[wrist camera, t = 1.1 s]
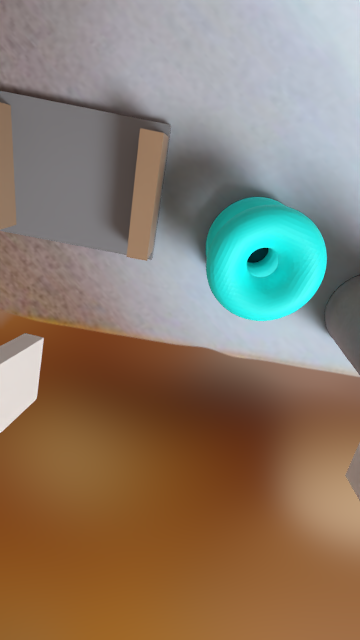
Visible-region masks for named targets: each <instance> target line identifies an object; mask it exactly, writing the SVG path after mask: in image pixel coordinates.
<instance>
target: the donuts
mask: <svg viewBox="0 0 360 640" xmlns="http://www.w3.org/2000/svg"><path fill="white" fill-rule="evenodd" d="M260 248H269V250H268V253H267V255H266V257H265V258H264V259H262V260H261V261H259V262H255V263H250V262H247V260H248V258H249V256H250V255H251V254H252V253H253V252H254V251H256V250H258V249H260ZM206 257H207V262H206V272H207V279H208V283H209V286H210V288H211V291H212V293H213V294H214V296H215V298H216V299H217V300H218V301H219V303H220V304H221V305H222V306H223V307H225V308H226V309H227V310H228V311H230V312H231V313H233V314H235V315H237V316H239V317H242V318H245V319H249V320H256V321H267V320H274V319H278V318H282V317H284V316H287V315H289V314H291V313H293V312H295V311H297V310H298V309H300V308H301V307H302V306H303V305H305V304H306V303H307V302H308V301H309V300H310V299H311V298H312V297H313V295H314V294H315V293H316V291H317V290H318V288H319V286H320V284H321V282H322V280H323V277H324V274H325V270H326V265H327V252H326V246H325V242H324V239H323V237H322V235H321V233H320V231H319V229H318V228H317V226H316V225H315V224H314V223H313V222H312V221H311V220H310V219H309V218H308V217H307V216H305V215H304V214H303V213H301V212H299V211H297V210H295V209H293V208H290V207H287V206H285V205H284V204H282V203H280V202H278V201H276V200H273V199H270V198H265V197H250V198H245V199H242V200H239V201H237V202H235V203H233V204H231V205H230V206H228V207H227V208H225V209H224V210H223V211H222V212H221V213H220V214H219V215H218V216H217V218H216V219H215V220H214V222H213V224H212V225H211V227H210V230H209V232H208V236H207V240H206Z"/></svg>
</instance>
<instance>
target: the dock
mask: <svg viewBox="0 0 360 640" xmlns="http://www.w3.org/2000/svg"><path fill="white" fill-rule="evenodd" d="M170 131H171V125H169V124H164V123H159V122H154V121H149V120H144V119H139V118H134V117H129V116H124V115H119V114H114V113H109V112H104V111H99V110H94V109H89V108H84V107H79V106H74V105H69V104H64V103H59V102H54V101H49V100H44V99H39V98H34V97H29V96H24V95H19V94H14V93H9V92H4V91H0V231H5V232H10V233H15V234H20V235H25V236H31V237H36V238H41V239H46V240H51V241H57V242H62V243H67V244H72V245H77V246H83V247H88V248H93V249H98V250H103V251H108V252H114V253H119V254H124V255H127V257H130V258H136V259H141V260H146V261H147V259H150V260H151V259H152V258H153V251H154V244H155V237H156V230H157V223H158V216H159V209H160V202H161V195H162V188H163V181H164V174H165V166H166V159H167V152H168V145H169V138H170Z"/></svg>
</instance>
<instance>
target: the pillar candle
mask: <svg viewBox="0 0 360 640" xmlns="http://www.w3.org/2000/svg"><path fill="white" fill-rule="evenodd" d="M325 323H326V327H327V330H328V332H329V334H330V335H331V337H332V338H333V339H334V341H335V342H336V344H337V345H338V346H339V348H340V349H341V351H342V352H343V353H344V355H345V356H346V357H347V359H348V360H349V361H350V363H351V364H352V365H353V367H354V368H355V369H356V371H357V372H358V373H359V375H360V275H358V276H356V277H354V278H352V279H350V280H348V281H346V282H345V283H344V284H342V285H341V286H340V287H339V288H338V289H337V290H336V291H335V292H334V293H333V295H332V296H331V297H330V299H329V301H328V303H327V305H326V309H325Z"/></svg>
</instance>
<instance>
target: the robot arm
mask: <svg viewBox="0 0 360 640" xmlns="http://www.w3.org/2000/svg"><path fill="white" fill-rule="evenodd" d="M43 339H44V338H42V337H38V336H34V335H30V334H26V333H25V334H23V335H21V336H19V337H17V338H15V339H13V340H12V341H10V342H8V343H6V344H4V345H2V346H0V433H1V432H2V431H3V430H4V429H5V428H6V427H7V426H8V425H9V424H10V423H11V422H12V421H13V420H15V419H16V418H17V417H18V416H19V415H20V414H21V413H22V412H23V411H24V410H25V409H26V408H27V407H28V406H29V405H30V404H32V403H33V402H34V401H35V400H36V399H37V392H38V383H39V374H40V366H41V357H42V347H43ZM346 478H347V479H348V481H349V483H350V484H351V486H352V488H353V490H354V491H355V493H356V495H357V497H358V498H359V500H360V443H359V445H358V448H357V450H356V452H355V454H354V457H353V459H352V461H351V464H350V466H349V468H348V471H347V473H346Z"/></svg>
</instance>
